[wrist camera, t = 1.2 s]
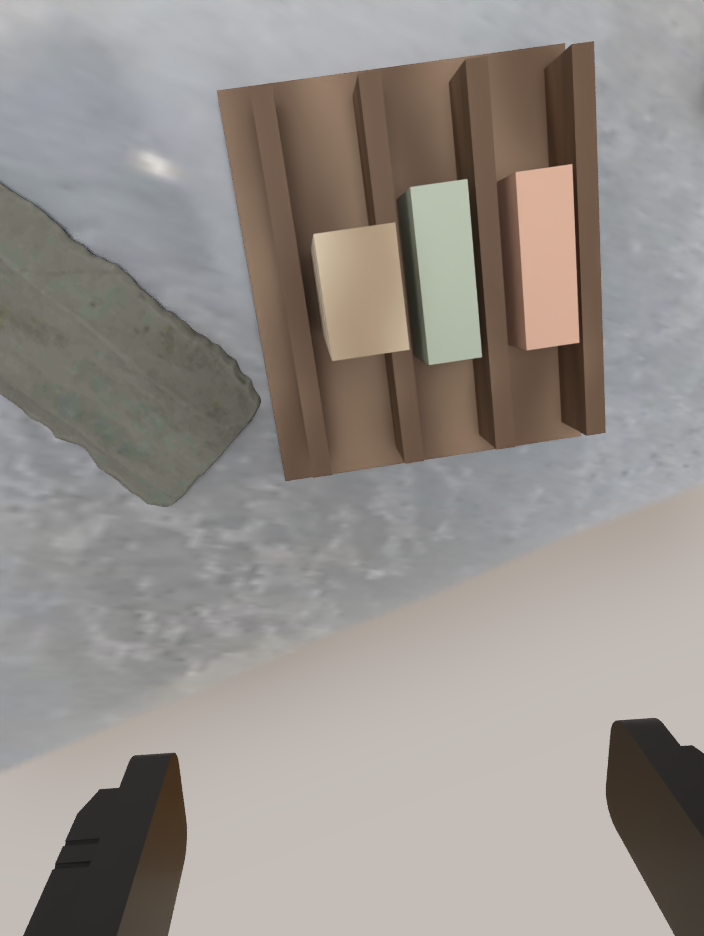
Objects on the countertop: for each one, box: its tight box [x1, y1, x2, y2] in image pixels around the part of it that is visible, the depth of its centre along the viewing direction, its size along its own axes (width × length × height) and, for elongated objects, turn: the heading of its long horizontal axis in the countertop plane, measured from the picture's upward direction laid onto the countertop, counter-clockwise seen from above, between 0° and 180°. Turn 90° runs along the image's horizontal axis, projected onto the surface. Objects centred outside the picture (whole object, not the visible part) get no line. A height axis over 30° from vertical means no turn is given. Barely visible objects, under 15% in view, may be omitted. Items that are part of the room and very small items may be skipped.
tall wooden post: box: [310, 222, 410, 361], centre depth 28 cm, size 3×4×14 cm, turn 8°
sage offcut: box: [397, 179, 482, 365], centre depth 32 cm, size 3×8×4 cm, turn 8°
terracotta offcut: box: [497, 164, 579, 350], centre depth 33 cm, size 3×8×4 cm, turn 8°
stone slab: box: [0, 184, 261, 507], centre depth 35 cm, size 22×3×10 cm
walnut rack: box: [217, 41, 606, 481], centre depth 34 cm, size 17×20×5 cm
